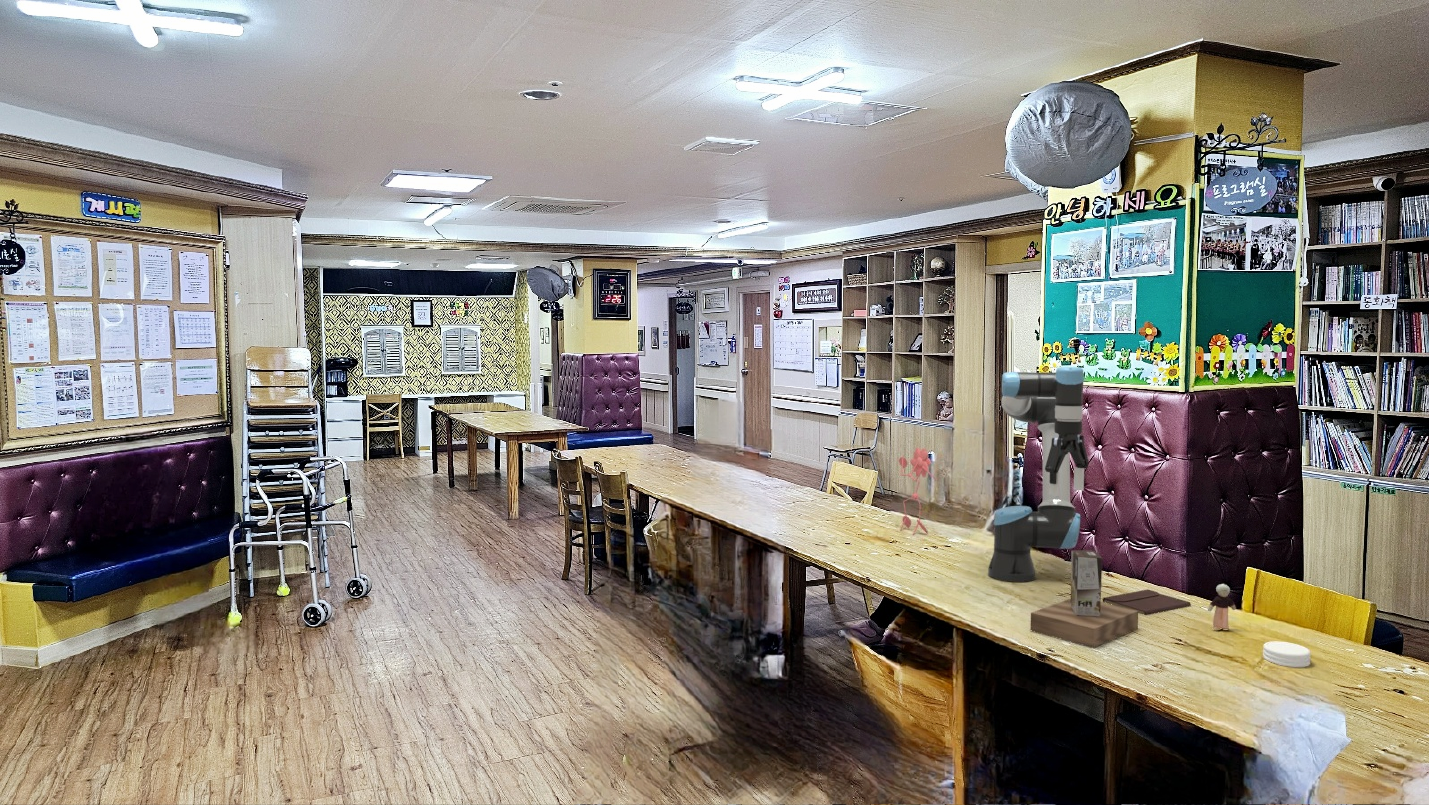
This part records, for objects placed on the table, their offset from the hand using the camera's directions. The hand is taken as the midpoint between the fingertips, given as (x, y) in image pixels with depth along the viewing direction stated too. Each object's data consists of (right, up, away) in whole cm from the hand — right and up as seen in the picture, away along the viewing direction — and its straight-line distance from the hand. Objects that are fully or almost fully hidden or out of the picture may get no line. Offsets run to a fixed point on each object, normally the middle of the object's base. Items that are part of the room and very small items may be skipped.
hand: (1066, 492), depth 265 cm
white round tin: (+38, -38, -41) cm, 68 cm away
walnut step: (-2, -36, -17) cm, 40 cm away
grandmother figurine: (+36, -36, -17) cm, 54 cm away
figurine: (-18, -27, +109) cm, 114 cm away
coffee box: (-2, -31, -17) cm, 36 cm away
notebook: (+27, -35, +7) cm, 44 cm away
